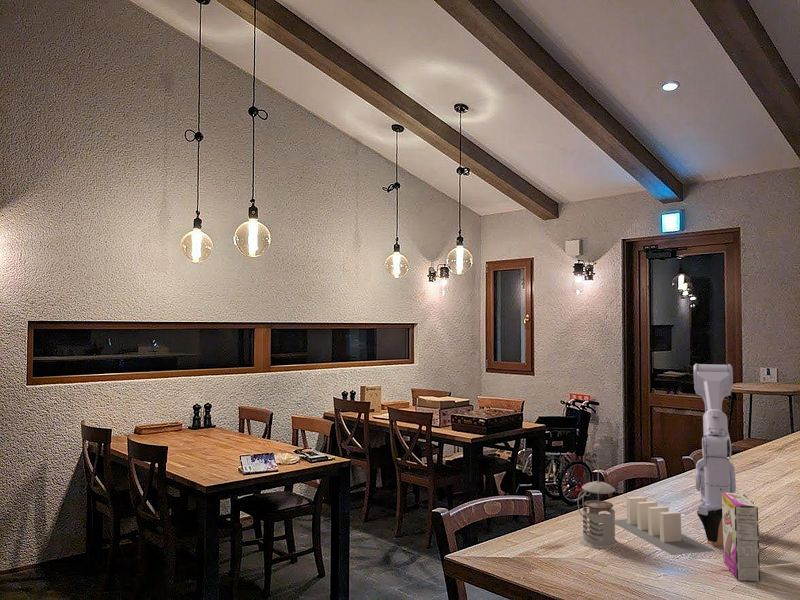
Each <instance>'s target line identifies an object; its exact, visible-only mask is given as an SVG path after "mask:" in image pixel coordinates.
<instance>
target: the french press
mask: <svg viewBox="0 0 800 600" xmlns="http://www.w3.org/2000/svg"><path fill="white" fill-rule="evenodd" d="M593 448H594V449H597V451H596V452H597V453H596V454H597V456H596V457H597V461H599V450H600V449H602V445H601V444H600V443H595V444H593ZM599 469H600V468H599V466H597V480H595V481H590V482H587V483H585V484H583V485H582V486H581V489H582V491H580V492H579V494H578V495H577V500H579V499H580V496H581V494H582V493H583V492H584V493H583V495H582V502H581V503H582V504H581V505H582V507H583V508H582V512H581V511H580V505H579V504H580V503H579V502H580V501H577V508H578V512H579V514H580V516H581V517H582V537H581V538H580V539H579V540H578V542H579V544H581V545H582V546H584V547H588V548H590V549H597V550H602V548H610V547H614V546H617V545H618V543H619V542H618V541H617V540H616V537H615V536H616V527H615V526H616V524H615V522H614V521H615V520H616V512H615V510H614V509H613V507H614V504H613V503H611V502H609V501H605V500H600V495H608V494H613V493H615V491H616V489H615V487H614V486H612V485H610V484H609V483H607V482H604V481H600V480H599V479H600V478H599V476H600V475H599V473H600V472H599ZM587 492H588V493H589V494H587ZM591 494H597V500H596V499H593V500H587V501H586V500H585V501H584V499H585V497H589V496H590V495H591ZM600 512H608V513H600ZM599 513H600V514H599Z"/></svg>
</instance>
